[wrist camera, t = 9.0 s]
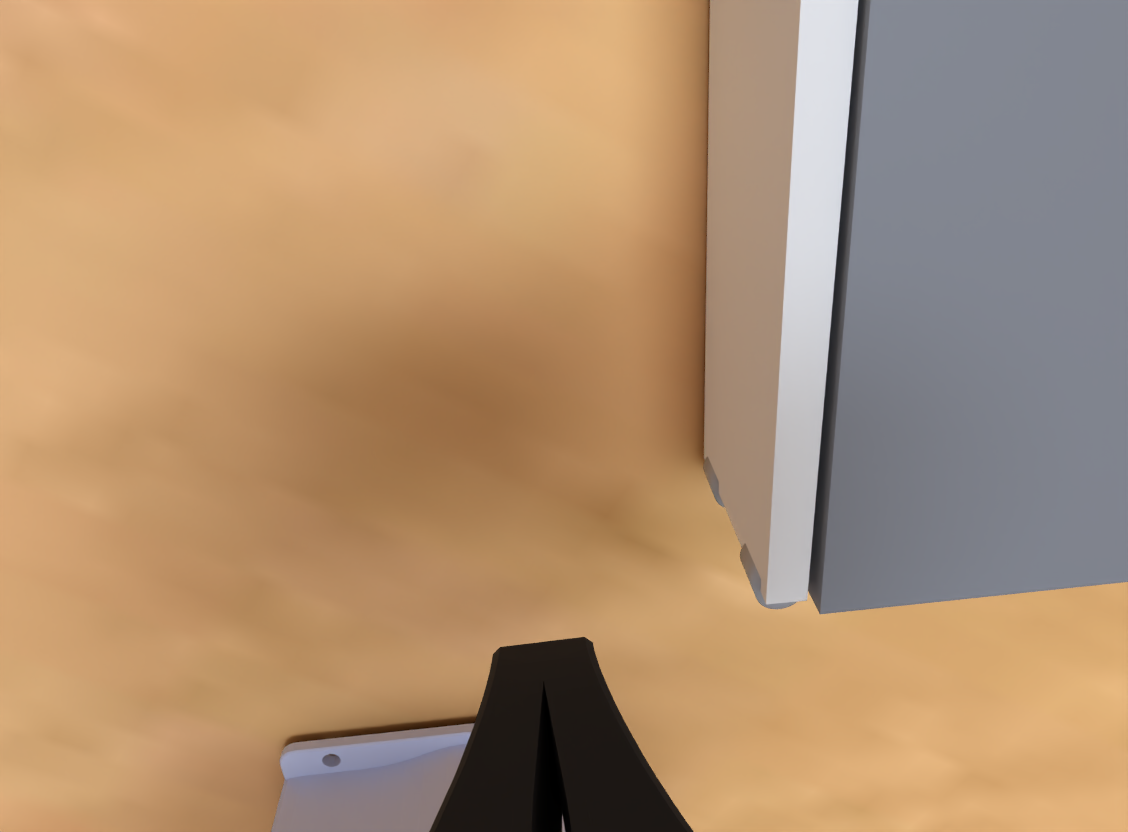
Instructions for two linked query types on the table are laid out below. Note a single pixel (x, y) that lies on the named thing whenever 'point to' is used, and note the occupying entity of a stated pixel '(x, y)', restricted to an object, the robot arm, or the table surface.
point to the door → (772, 269)
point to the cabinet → (978, 307)
